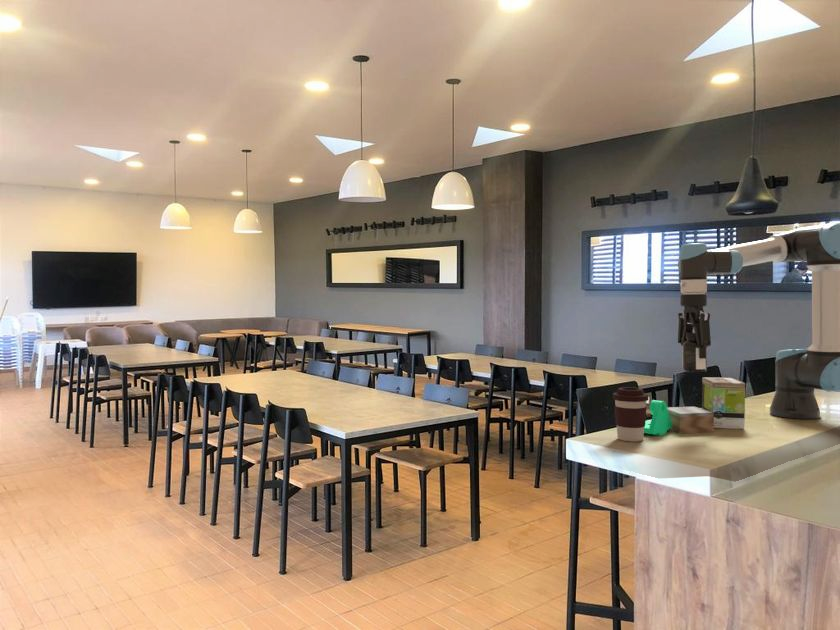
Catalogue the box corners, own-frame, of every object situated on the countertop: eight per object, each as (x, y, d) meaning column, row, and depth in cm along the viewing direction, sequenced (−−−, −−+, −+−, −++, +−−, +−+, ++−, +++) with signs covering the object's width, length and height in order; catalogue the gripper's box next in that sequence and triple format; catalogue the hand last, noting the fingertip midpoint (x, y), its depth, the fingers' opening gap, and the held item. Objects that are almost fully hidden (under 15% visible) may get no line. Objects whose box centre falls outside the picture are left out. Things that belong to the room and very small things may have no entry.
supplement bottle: (688, 369, 205) (688, 331, 205) (710, 370, 200) (710, 332, 200) (678, 371, 201) (678, 332, 200) (700, 372, 196) (700, 333, 195)
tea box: (745, 429, 202) (746, 382, 202) (711, 428, 204) (711, 382, 204) (732, 420, 217) (732, 376, 216) (700, 419, 219) (701, 376, 219)
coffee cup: (608, 440, 188) (608, 389, 188) (617, 434, 197) (617, 385, 196) (644, 444, 183) (643, 392, 183) (651, 438, 192) (651, 387, 191)
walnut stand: (694, 424, 210) (694, 406, 210) (713, 431, 199) (713, 412, 199) (662, 426, 209) (662, 407, 208) (680, 433, 198) (680, 413, 198)
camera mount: (648, 428, 206) (648, 396, 206) (672, 431, 201) (672, 398, 201) (630, 434, 198) (630, 400, 198) (654, 438, 193) (654, 403, 192)
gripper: (665, 294, 209) (665, 364, 210) (700, 293, 189) (700, 371, 190) (687, 293, 210) (687, 364, 211) (724, 293, 190) (724, 370, 191)
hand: (693, 367), depth 200 cm, fingers closed on supplement bottle, 7 cm apart
